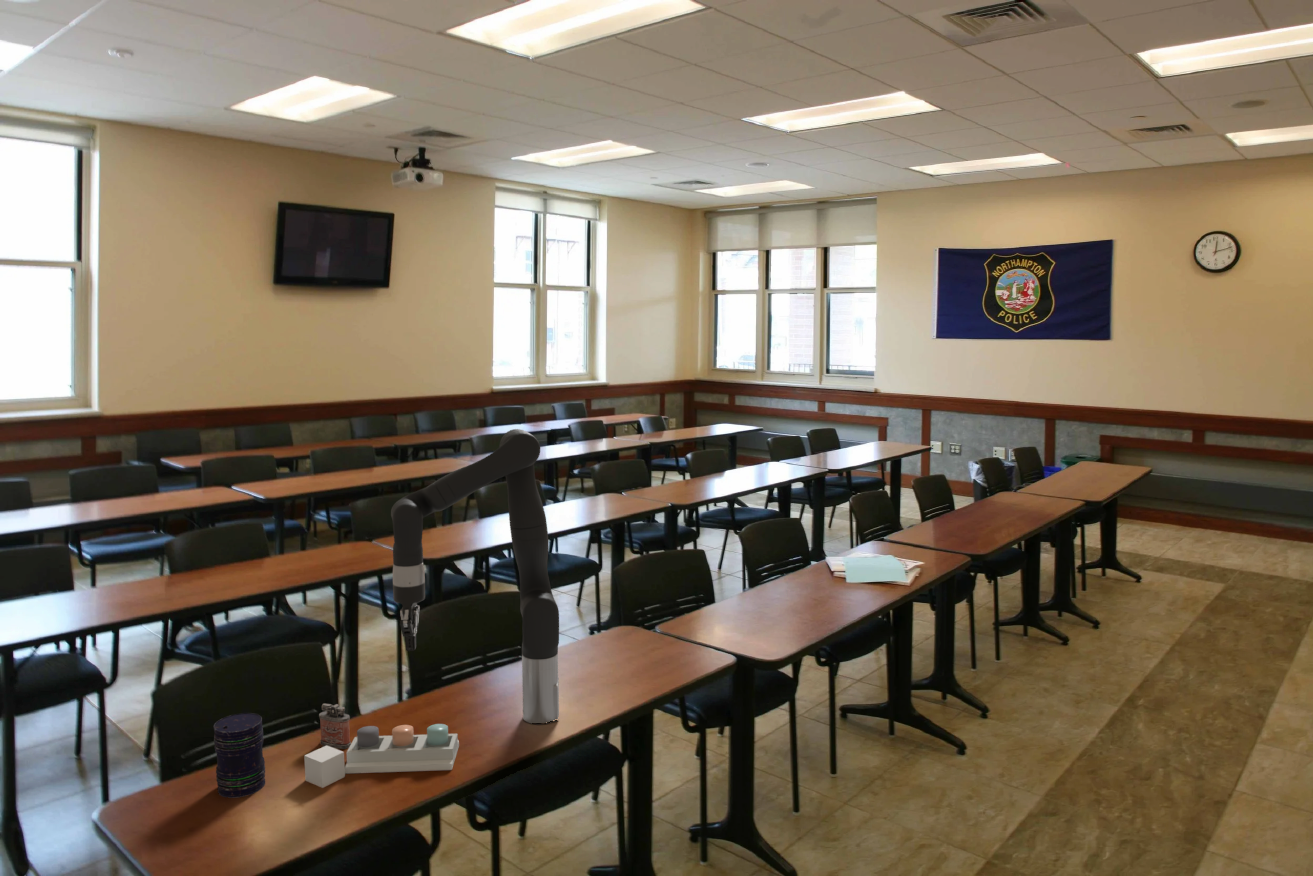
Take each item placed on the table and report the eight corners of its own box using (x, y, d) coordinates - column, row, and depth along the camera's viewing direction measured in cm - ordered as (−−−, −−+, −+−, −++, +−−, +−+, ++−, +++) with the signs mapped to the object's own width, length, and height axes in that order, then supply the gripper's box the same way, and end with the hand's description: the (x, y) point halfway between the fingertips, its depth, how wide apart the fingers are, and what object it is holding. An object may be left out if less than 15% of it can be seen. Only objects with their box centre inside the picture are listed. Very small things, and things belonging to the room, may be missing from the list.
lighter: (353, 744, 225) (352, 704, 224) (345, 750, 222) (343, 710, 220) (326, 739, 227) (324, 700, 226) (317, 745, 224) (315, 705, 223)
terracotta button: (415, 736, 219) (415, 724, 219) (411, 745, 214) (411, 733, 214) (394, 737, 219) (394, 725, 218) (390, 746, 214) (390, 734, 213)
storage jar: (249, 771, 211) (246, 709, 209) (275, 783, 205) (271, 719, 204) (207, 789, 203) (203, 724, 201) (233, 803, 197) (229, 736, 195)
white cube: (322, 788, 204) (321, 762, 203) (305, 781, 207) (304, 755, 206) (345, 777, 209) (344, 751, 208) (327, 770, 212) (326, 745, 211)
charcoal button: (381, 737, 218) (380, 725, 218) (376, 747, 214) (376, 734, 213) (360, 738, 218) (359, 726, 218) (355, 747, 213) (354, 735, 213)
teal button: (449, 735, 220) (449, 723, 219) (446, 744, 215) (446, 732, 214) (429, 736, 219) (428, 724, 219) (425, 745, 214) (425, 733, 214)
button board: (459, 746, 224) (458, 729, 223) (451, 770, 212) (451, 753, 211) (357, 749, 222) (357, 733, 221) (344, 773, 210) (344, 756, 210)
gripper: (419, 588, 218) (421, 659, 221) (429, 573, 232) (431, 640, 234) (387, 589, 218) (389, 660, 220) (398, 574, 231) (400, 640, 233)
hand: (411, 649), depth 227 cm, fingers closed
